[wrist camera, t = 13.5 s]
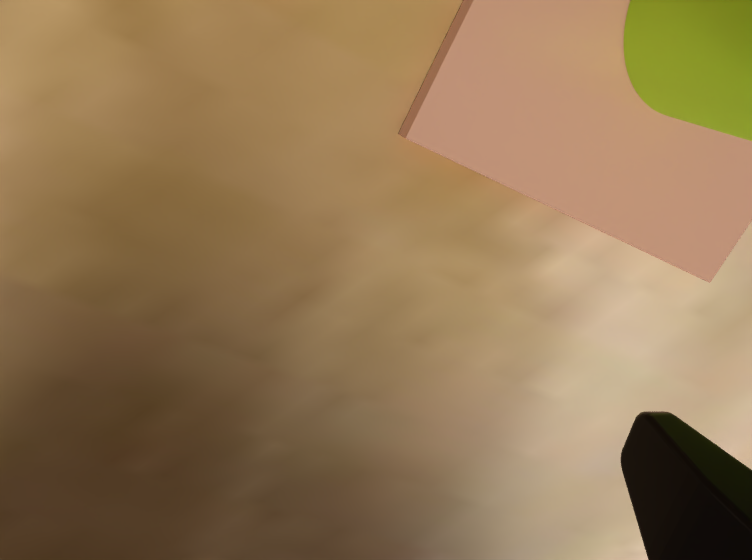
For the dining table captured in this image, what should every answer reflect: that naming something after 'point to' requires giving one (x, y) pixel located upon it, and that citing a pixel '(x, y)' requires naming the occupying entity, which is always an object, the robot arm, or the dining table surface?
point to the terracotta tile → (581, 129)
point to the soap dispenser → (693, 60)
